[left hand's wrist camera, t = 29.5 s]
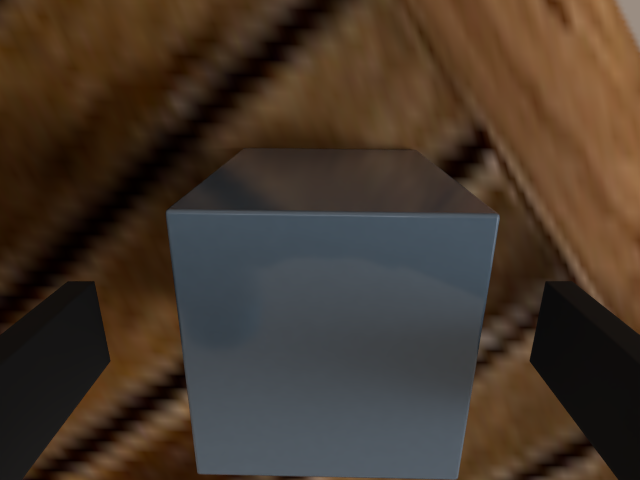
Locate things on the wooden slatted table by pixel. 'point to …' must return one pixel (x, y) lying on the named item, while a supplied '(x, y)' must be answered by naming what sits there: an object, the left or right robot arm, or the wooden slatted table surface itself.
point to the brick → (330, 312)
